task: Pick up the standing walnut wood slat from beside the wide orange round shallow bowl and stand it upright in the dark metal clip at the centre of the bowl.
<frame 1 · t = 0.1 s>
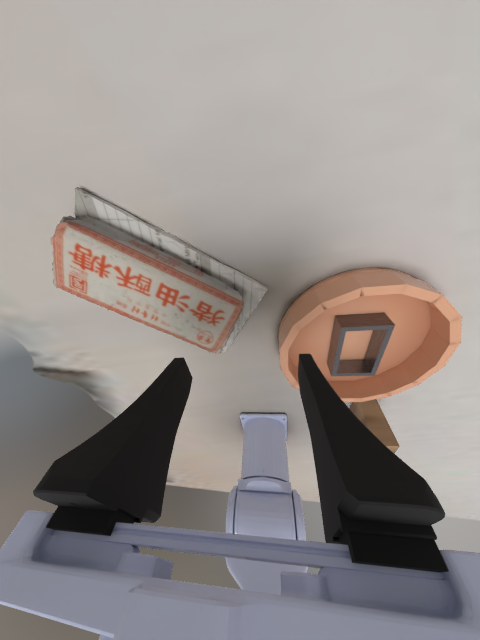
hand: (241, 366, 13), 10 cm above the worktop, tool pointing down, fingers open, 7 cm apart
orange round shallow bowl: (349, 334, 23), on the worktop
wick clip: (352, 340, 22), resting on orange round shallow bowl
wood wick: (360, 402, 31), on the worktop
packaged product: (172, 281, 22), on the worktop
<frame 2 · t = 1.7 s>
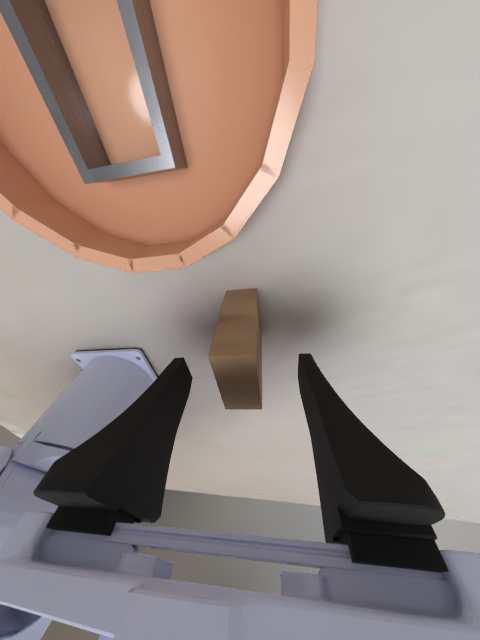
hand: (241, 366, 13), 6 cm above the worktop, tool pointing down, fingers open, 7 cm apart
orange round shallow bowl: (126, 82, 10), on the worktop
wick clip: (114, 74, 9), resting on orange round shallow bowl
wood wick: (245, 315, 17), on the worktop
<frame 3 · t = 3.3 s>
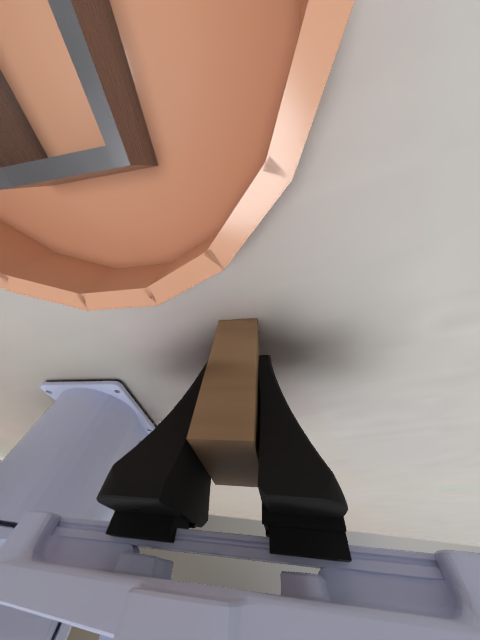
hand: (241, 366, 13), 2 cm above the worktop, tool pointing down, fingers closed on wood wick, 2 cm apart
orange round shallow bowl: (62, 37, 6), on the worktop
wick clip: (34, 18, 6), resting on orange round shallow bowl
wood wick: (242, 348, 14), on the worktop, touching gripper
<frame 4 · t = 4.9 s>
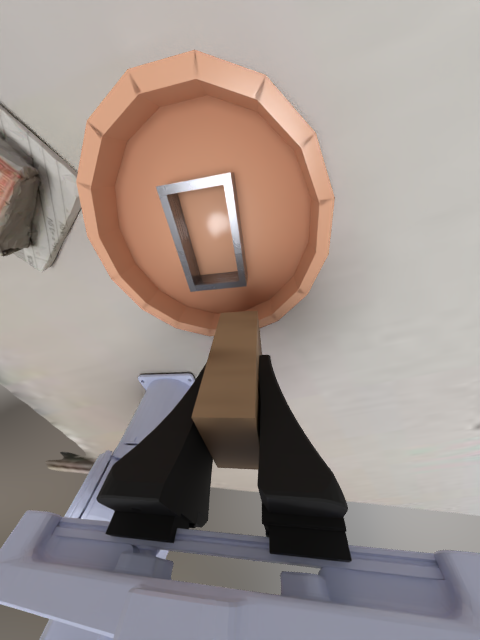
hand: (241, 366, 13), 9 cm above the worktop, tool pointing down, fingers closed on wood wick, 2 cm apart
orange round shallow bowl: (214, 231, 16), on the worktop
wick clip: (212, 235, 16), resting on orange round shallow bowl
wood wick: (243, 340, 15), point 6 cm above the worktop, touching gripper
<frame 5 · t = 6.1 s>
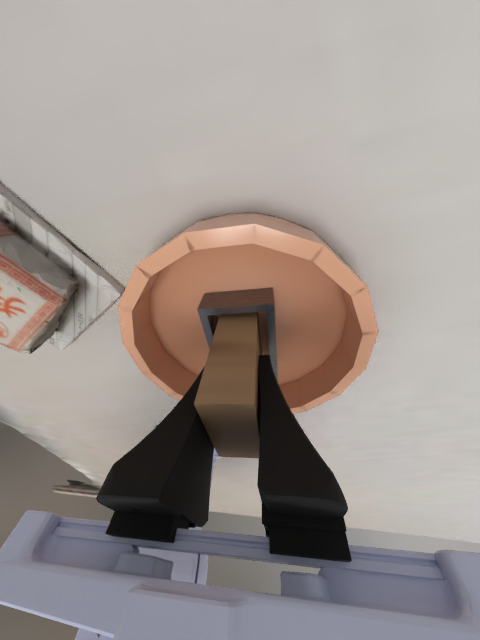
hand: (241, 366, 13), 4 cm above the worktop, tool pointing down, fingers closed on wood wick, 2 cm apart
orange round shallow bowl: (245, 323, 16), on the worktop
wick clip: (244, 331, 15), resting on orange round shallow bowl
wood wick: (243, 335, 15), point 2 cm above the worktop, touching gripper
when the fingers open (4 cm above the worktop, at t = 6.5 s): wood wick stays where it is, resting on orange round shallow bowl.
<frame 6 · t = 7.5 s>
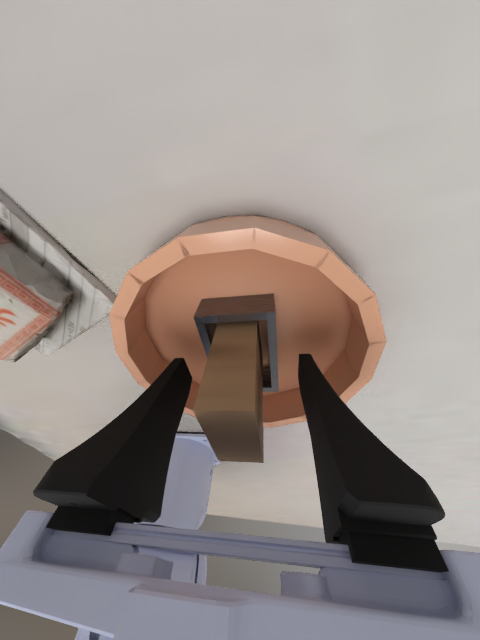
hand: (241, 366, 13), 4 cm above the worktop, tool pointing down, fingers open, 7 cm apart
orange round shallow bowl: (244, 330, 16), on the worktop
wick clip: (243, 338, 15), resting on orange round shallow bowl
wood wick: (243, 337, 15), point 1 cm above the worktop, touching orange round shallow bowl
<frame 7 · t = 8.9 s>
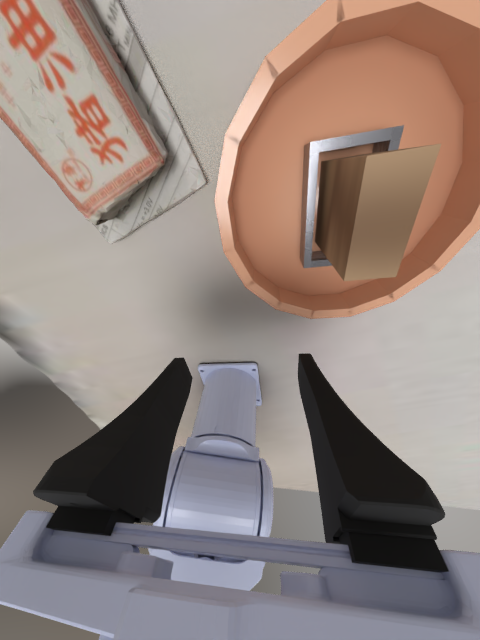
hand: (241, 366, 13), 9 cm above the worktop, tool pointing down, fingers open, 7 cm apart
orange round shallow bowl: (331, 203, 15), on the worktop
wick clip: (335, 205, 14), resting on orange round shallow bowl
wood wick: (335, 203, 14), point 1 cm above the worktop, touching orange round shallow bowl
packaged product: (70, 70, 13), on the worktop
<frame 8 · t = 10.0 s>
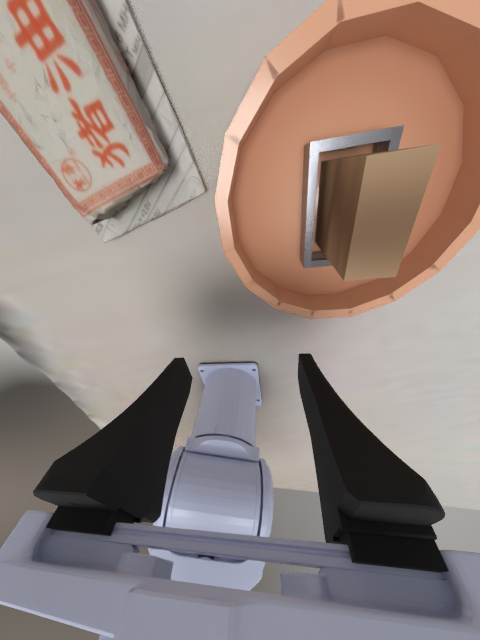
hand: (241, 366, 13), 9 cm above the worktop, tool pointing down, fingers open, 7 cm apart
orange round shallow bowl: (331, 203, 15), on the worktop
wick clip: (335, 205, 14), resting on orange round shallow bowl
wood wick: (335, 203, 14), point 1 cm above the worktop, touching orange round shallow bowl
packaged product: (74, 67, 13), on the worktop
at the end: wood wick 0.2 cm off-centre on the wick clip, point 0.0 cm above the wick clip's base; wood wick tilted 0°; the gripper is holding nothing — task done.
